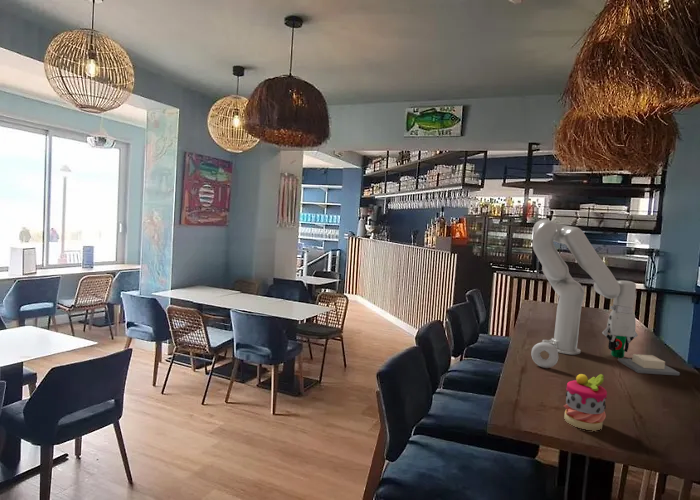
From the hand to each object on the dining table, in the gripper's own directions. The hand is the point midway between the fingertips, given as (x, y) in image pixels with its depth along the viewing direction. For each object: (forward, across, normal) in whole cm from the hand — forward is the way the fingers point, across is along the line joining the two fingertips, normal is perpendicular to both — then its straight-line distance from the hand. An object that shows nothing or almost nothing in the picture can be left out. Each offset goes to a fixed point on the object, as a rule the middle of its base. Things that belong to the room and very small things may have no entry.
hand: (617, 350), depth 197 cm
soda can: (+3, 0, 0) cm, 3 cm away
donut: (+3, -40, -21) cm, 45 cm away
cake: (+3, -47, -68) cm, 83 cm away
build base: (+3, +5, -13) cm, 14 cm away
